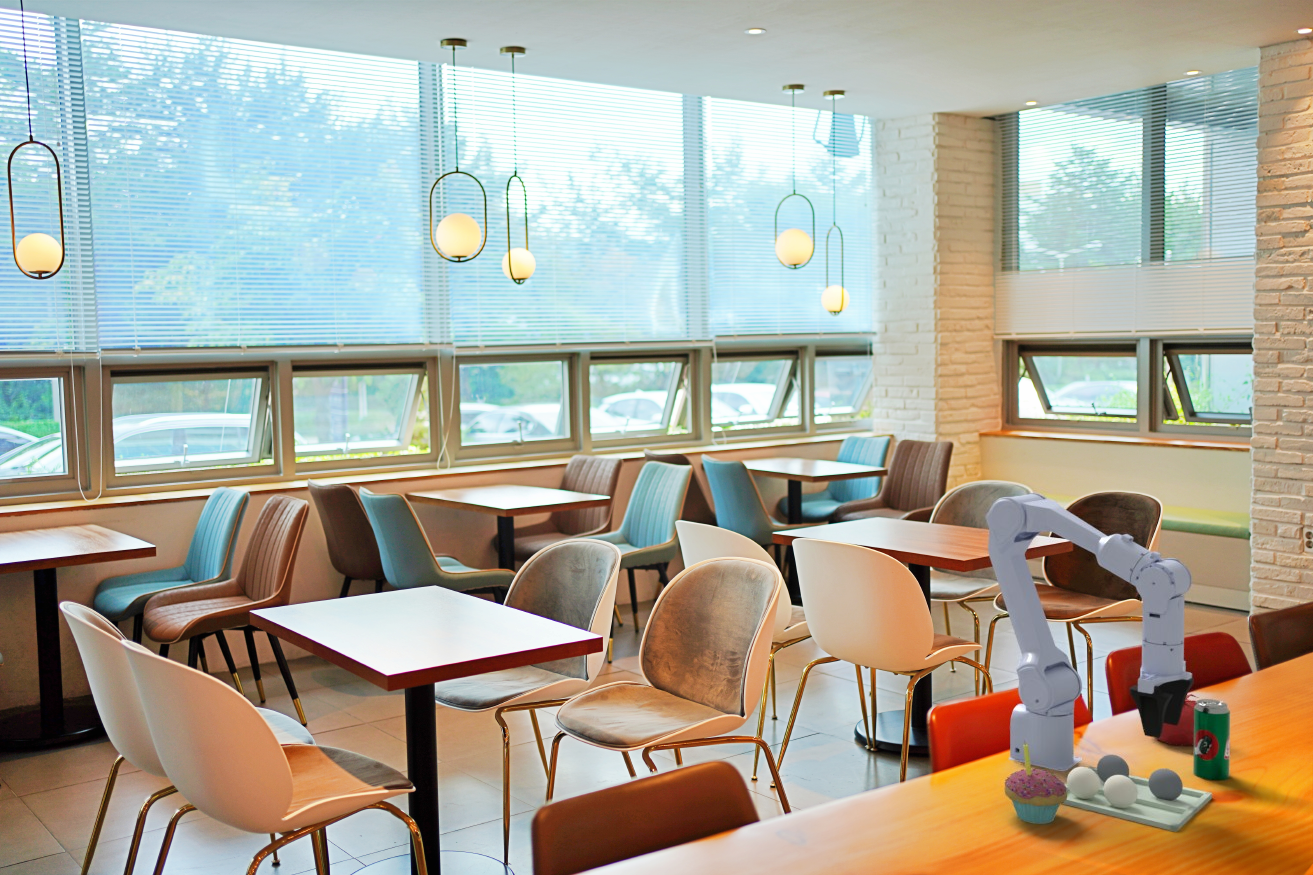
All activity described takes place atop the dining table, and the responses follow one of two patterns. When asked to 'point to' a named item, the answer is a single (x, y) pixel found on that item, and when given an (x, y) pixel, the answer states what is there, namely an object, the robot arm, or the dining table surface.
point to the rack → (1146, 805)
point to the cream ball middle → (1120, 791)
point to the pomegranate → (1181, 726)
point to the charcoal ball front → (1165, 784)
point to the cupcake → (1035, 793)
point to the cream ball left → (1083, 782)
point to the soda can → (1211, 740)
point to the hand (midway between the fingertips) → (1161, 729)
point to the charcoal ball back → (1112, 767)
